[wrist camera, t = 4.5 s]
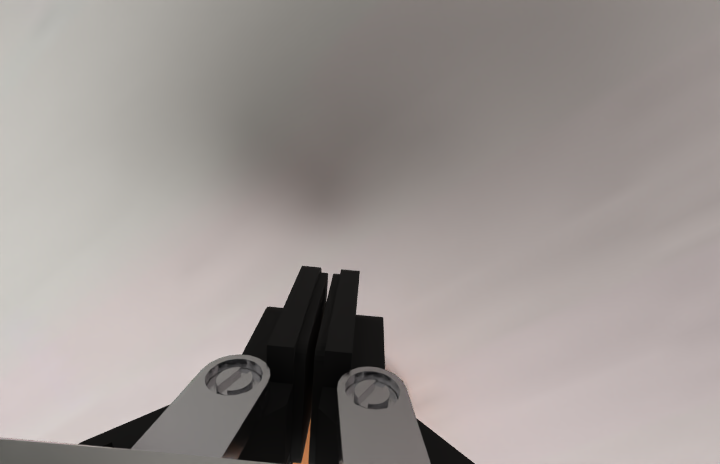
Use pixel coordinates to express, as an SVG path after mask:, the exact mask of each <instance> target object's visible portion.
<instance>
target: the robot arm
mask: <svg viewBox="0 0 720 464" xmlns="http://www.w3.org/2000/svg"><path fill="white" fill-rule="evenodd" d="M359 274H360V271H352V270H341V273H340V274H333V278H332V282H331V286H330V290H329V294H328V298H327V283H328V273H321V268H319V267H308V266H302V267H301V269H300V272H299V274H298V276H297V278H296V281H295V283H294V285H293V287H292V290H291V292H290V294H289V296H288V299H287V301H286V303H285V305H284V308H277V307H267V308H266V310H265V312H264V314H263V315H262V317H261V319H260V321H259V323H258V325H257V327H256V329H255V331H254V333H253V335H252V336H251V338H250V340H249V342H248V344H247V346H246V348H245V350H244V352H243V354H242V355H229V356H226V357H222V358H219V359H217V360H215V361H213V362H211V363H209V364H208V365H207V366H205V367H204V368H203V369H202V370H201V371H200V372H199V373H198V374H197V376H196V377H195V378H194V379H193V380H192V381H191V382H190V383H189V384H188V386H187V387H186V388H185V389H184V390H183V391H182V392H181V393H180V395H179V396H178V397H177V398H176V399H175V400H174V401H173V402H172V403H171V404H170V405H168V406H166V407H163V408H161V409H159V410H156V411H154V412H151V413H149V414H147V415H144V416H142V417H140V418H137V419H135V420H133V421H130V422H128V423H126V424H123V425H121V426H118V427H116V428H114V429H111V430H109V431H107V432H104V433H102V434H100V435H97V436H95V437H93V438H90V439H88V440H85V441H83V442H81V443H79V444H67V443H56V442H45V441H34V440H23V439H12V438H1V437H0V464H293V463H301V462H302V458H303V454H304V449H305V444H306V439H307V434H308V429H309V424H310V419H311V424H310V442H309V460H308V464H474V463H473V462H472V461H471V460H469V459H468V458H467V457H465V456H464V455H463V454H462V453H460V452H459V451H458V450H456V449H455V448H454V447H453V446H451V445H450V444H449V443H447V442H446V441H445V440H444V439H442V438H441V437H440V436H438V435H437V434H436V433H435V432H433V431H432V430H431V429H429V428H428V427H427V426H426V425H424V424H423V423H422V422H420V421H419V420H418V419H417V418H416V416H415V413H414V410H413V407H412V404H411V400H410V397H409V394H408V391H407V388H406V386H405V385H404V383H403V381H402V380H401V379H400V378H399V377H398V376H396V375H395V374H393V373H391V372H389V371H388V370H385V356H384V327H383V317H374V316H363V315H356V307H357V296H358V285H359ZM326 299H327V302H326Z"/></svg>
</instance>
